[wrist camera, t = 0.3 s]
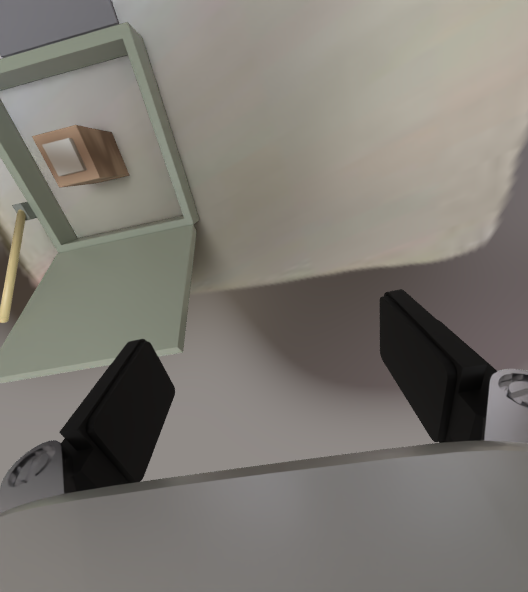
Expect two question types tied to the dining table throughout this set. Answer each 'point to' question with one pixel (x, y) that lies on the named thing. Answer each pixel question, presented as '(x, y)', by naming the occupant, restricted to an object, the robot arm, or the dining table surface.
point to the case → (94, 239)
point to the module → (81, 155)
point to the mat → (50, 22)
